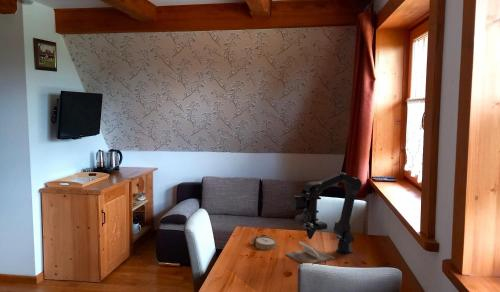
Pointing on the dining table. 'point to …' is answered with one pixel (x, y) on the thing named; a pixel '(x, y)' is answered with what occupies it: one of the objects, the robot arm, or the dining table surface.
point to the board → (309, 256)
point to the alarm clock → (264, 242)
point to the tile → (309, 248)
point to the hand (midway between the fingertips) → (309, 238)
